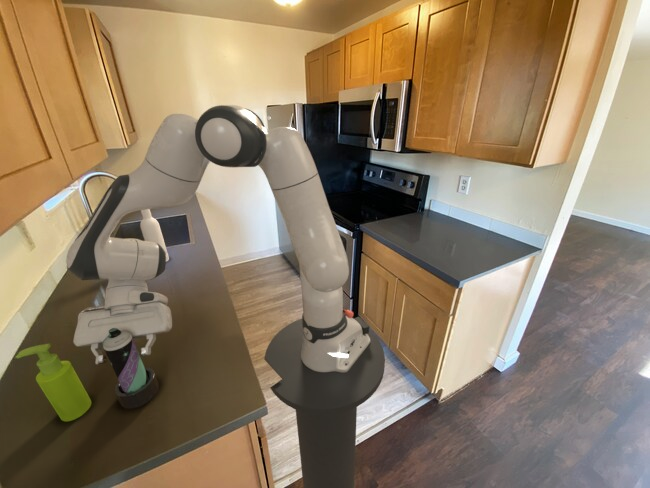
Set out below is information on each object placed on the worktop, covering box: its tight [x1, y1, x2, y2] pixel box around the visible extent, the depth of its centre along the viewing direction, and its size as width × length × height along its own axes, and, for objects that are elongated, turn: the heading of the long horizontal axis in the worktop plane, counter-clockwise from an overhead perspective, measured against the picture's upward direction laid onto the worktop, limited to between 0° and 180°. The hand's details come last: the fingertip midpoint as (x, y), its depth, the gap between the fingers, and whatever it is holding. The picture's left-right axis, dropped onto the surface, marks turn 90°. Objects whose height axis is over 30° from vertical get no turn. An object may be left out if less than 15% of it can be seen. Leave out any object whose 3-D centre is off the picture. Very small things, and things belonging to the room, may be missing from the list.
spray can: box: [102, 328, 149, 394], centre depth 66 cm, size 6×6×20 cm
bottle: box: [139, 209, 170, 263], centre depth 134 cm, size 8×8×30 cm
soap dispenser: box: [14, 343, 92, 423], centre depth 63 cm, size 6×7×20 cm
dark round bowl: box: [114, 367, 160, 410], centre depth 70 cm, size 8×8×4 cm
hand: (123, 359), depth 65 cm, fingers open, 8 cm apart
